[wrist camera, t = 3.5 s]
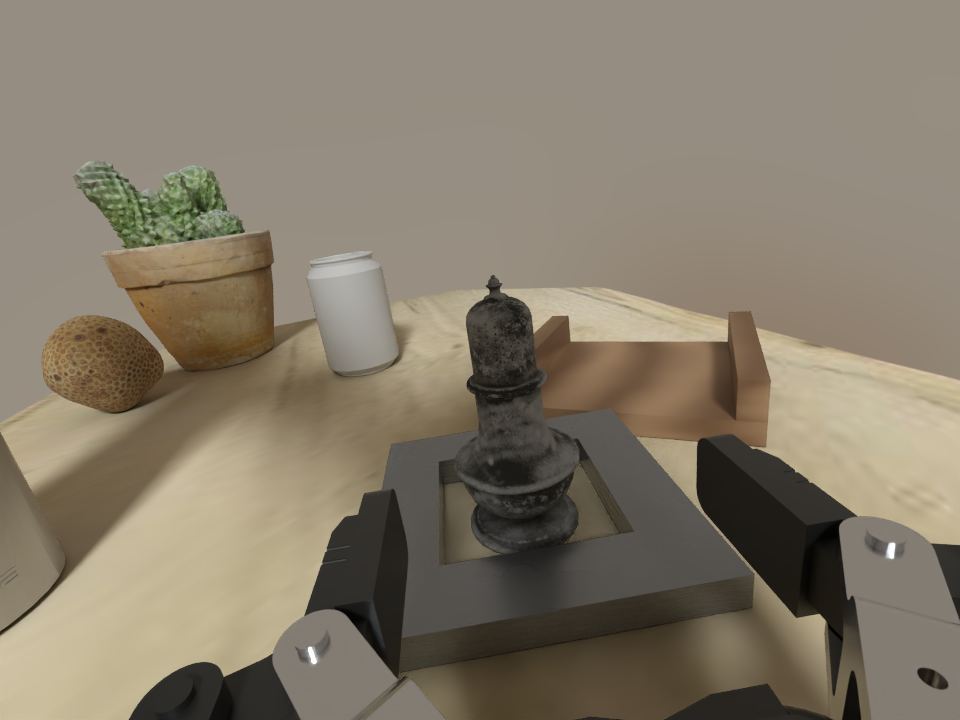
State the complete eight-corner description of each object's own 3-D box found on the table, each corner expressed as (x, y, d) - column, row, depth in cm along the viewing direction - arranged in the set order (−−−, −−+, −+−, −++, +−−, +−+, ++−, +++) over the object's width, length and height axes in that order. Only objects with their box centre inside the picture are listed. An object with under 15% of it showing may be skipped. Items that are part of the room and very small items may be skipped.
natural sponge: (40, 432, 44) (-10, 333, 41) (123, 394, 52) (87, 309, 49) (116, 429, 42) (70, 324, 39) (190, 390, 50) (157, 301, 47)
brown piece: (500, 423, 32) (493, 371, 31) (556, 356, 44) (552, 316, 43) (765, 447, 25) (770, 380, 24) (748, 359, 37) (750, 311, 36)
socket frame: (359, 679, 16) (350, 647, 15) (395, 465, 29) (391, 444, 29) (752, 607, 16) (754, 574, 16) (611, 429, 30) (610, 408, 29)
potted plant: (235, 337, 74) (182, 172, 66) (328, 334, 67) (281, 148, 59) (117, 382, 58) (28, 170, 50) (223, 383, 51) (139, 138, 43)
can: (321, 370, 51) (292, 260, 47) (382, 350, 55) (360, 248, 51) (346, 385, 45) (315, 261, 41) (413, 362, 49) (390, 247, 45)
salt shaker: (543, 470, 26) (520, 259, 23) (610, 527, 21) (595, 266, 17) (448, 507, 24) (405, 282, 20) (497, 581, 19) (452, 298, 15)
